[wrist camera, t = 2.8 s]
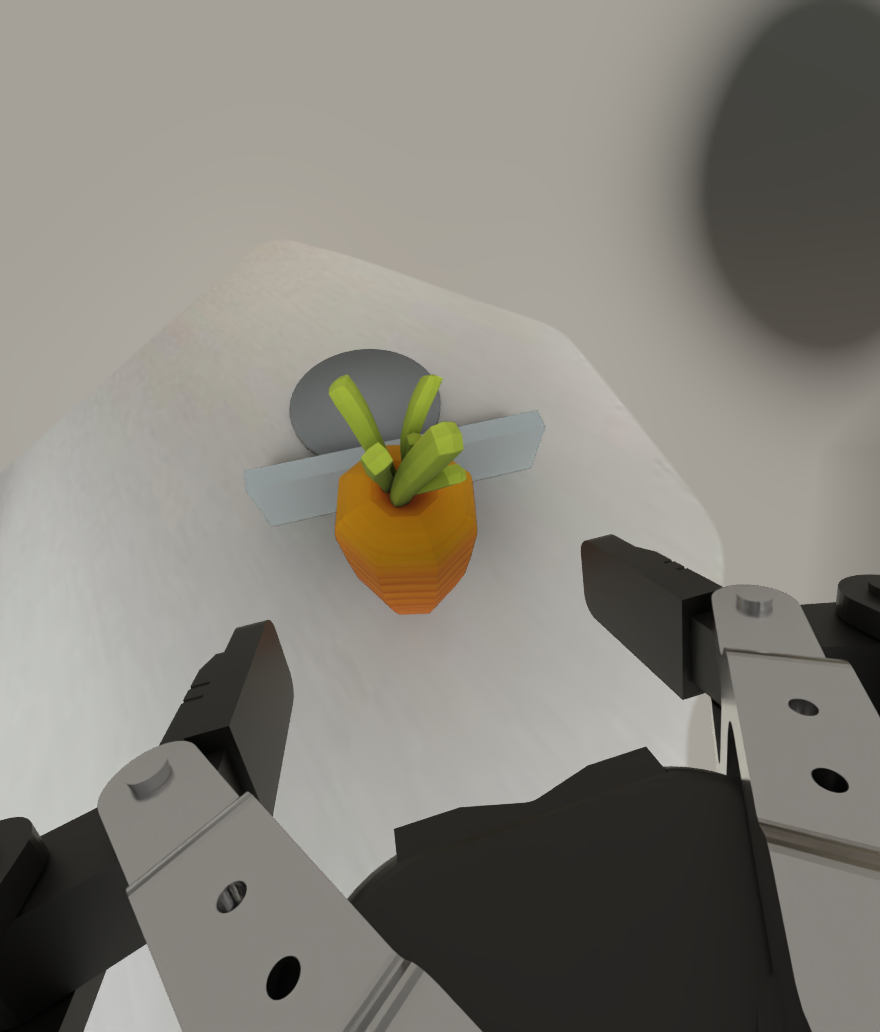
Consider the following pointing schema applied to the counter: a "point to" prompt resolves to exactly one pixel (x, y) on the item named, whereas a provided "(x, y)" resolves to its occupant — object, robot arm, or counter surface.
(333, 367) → the rest mat
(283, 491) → the low wall
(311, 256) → the counter surface
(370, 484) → the carrot
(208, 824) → the robot arm
